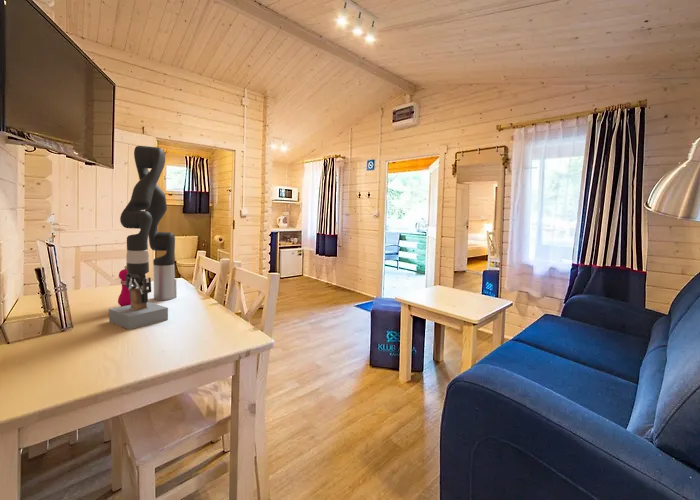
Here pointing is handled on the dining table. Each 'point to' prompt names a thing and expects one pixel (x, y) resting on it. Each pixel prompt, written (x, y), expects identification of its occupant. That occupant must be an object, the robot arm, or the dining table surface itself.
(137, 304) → the walnut peg
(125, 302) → the pepper mill
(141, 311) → the socket board
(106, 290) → the dining table surface
